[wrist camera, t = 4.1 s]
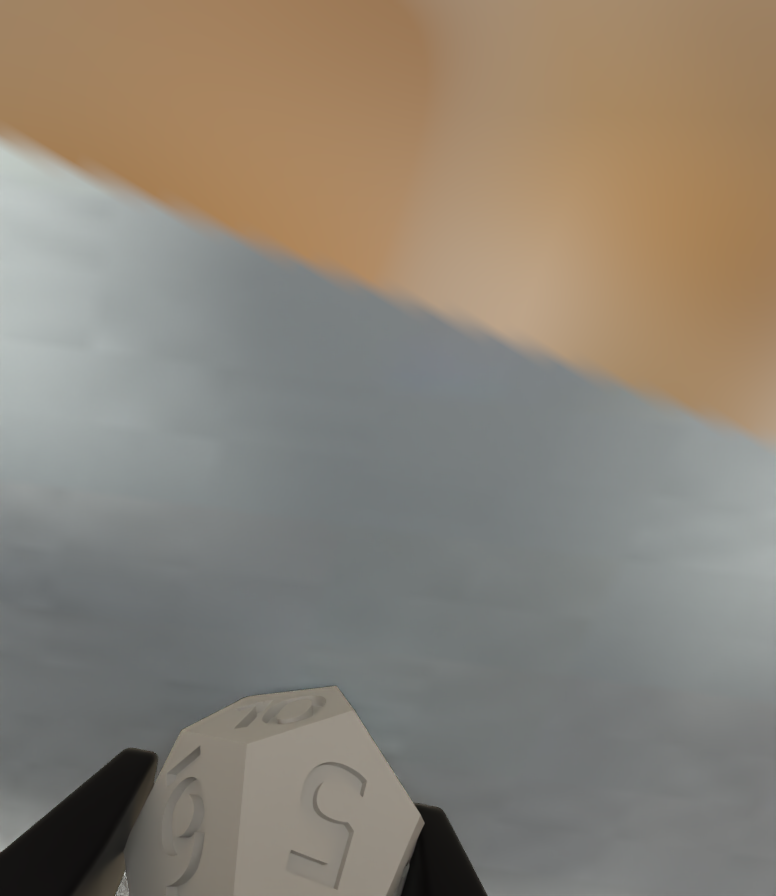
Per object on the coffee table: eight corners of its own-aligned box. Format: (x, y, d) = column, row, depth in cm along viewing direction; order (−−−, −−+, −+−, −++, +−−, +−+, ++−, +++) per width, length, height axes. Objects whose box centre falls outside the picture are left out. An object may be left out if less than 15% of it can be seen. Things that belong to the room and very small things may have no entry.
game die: (189, 625, 8) (68, 830, 5) (445, 663, 8) (480, 881, 5) (174, 811, 9) (65, 1077, 6) (400, 841, 9) (408, 1111, 6)
